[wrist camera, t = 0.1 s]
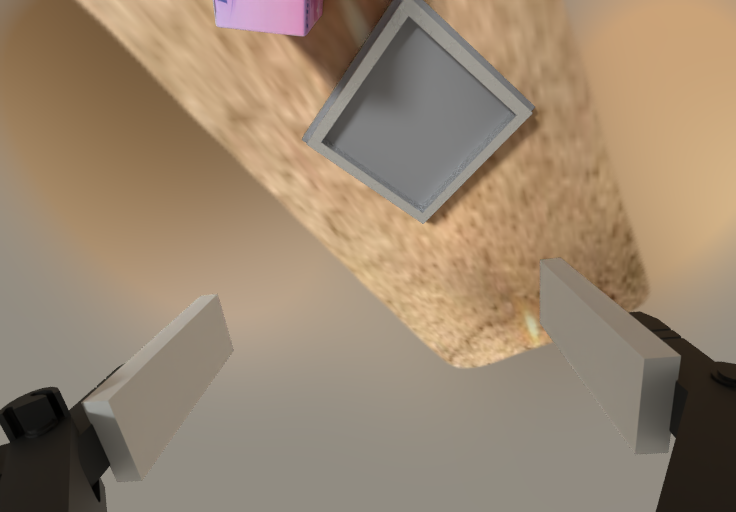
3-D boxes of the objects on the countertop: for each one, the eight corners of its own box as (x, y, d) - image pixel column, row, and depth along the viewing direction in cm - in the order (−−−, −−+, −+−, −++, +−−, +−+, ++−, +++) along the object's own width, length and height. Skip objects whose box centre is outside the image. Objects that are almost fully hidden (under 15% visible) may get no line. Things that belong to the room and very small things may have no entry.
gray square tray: (403, -18, 32) (404, -18, 31) (531, 103, 38) (535, 107, 37) (303, 135, 40) (301, 139, 39) (421, 216, 45) (422, 222, 44)
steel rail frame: (405, -7, 31) (407, -6, 30) (527, 108, 37) (532, 113, 35) (308, 138, 39) (306, 144, 37) (421, 217, 44) (423, 224, 43)
